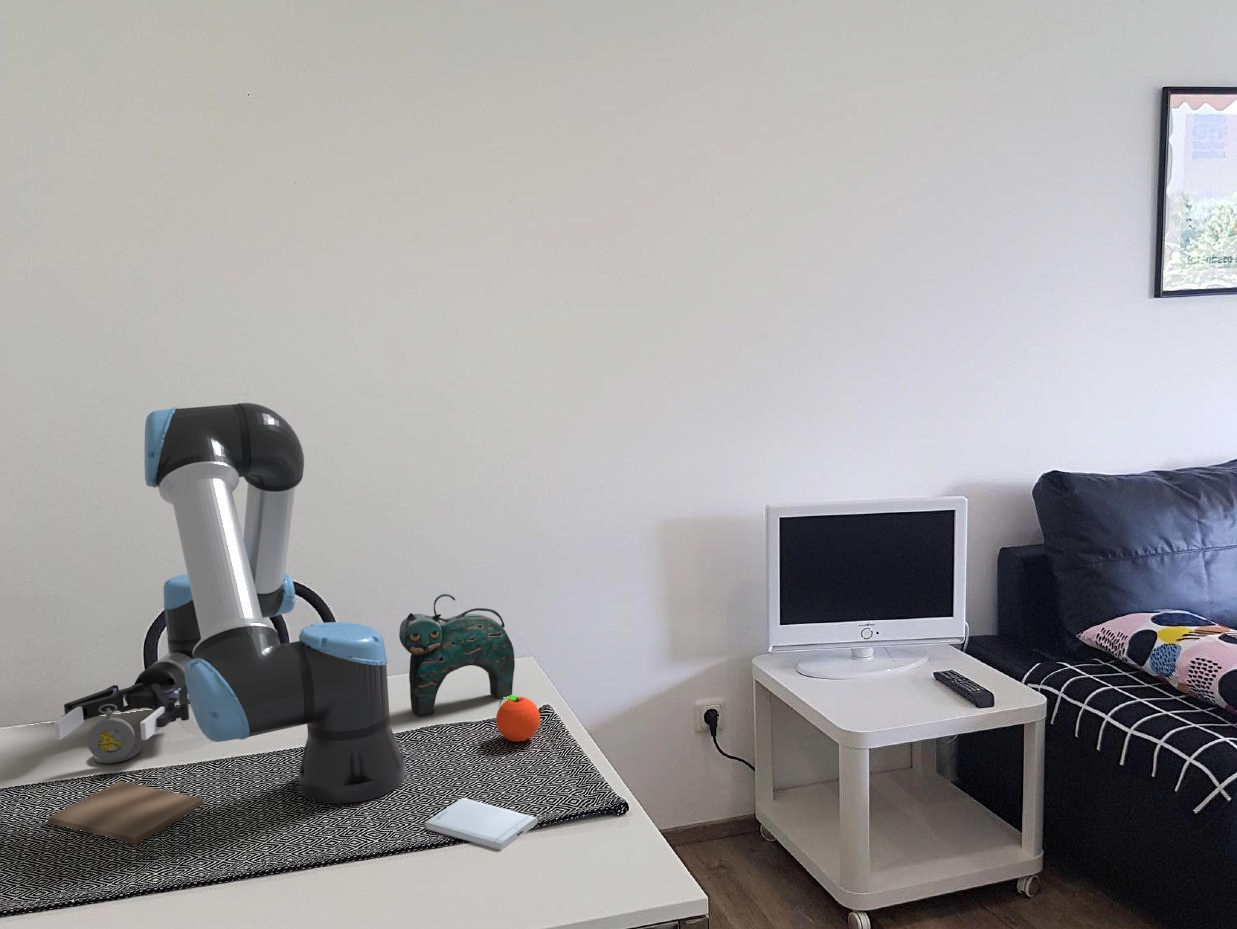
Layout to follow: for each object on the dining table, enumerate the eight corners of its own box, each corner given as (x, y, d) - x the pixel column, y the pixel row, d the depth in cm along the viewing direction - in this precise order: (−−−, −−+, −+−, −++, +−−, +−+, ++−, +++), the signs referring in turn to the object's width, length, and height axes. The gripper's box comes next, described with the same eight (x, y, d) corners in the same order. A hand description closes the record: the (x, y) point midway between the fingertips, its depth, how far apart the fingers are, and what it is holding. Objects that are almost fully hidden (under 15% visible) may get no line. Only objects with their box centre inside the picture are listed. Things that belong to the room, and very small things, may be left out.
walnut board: (203, 805, 156) (202, 798, 156) (135, 845, 146) (134, 838, 145) (120, 787, 163) (119, 781, 163) (49, 824, 152) (48, 817, 152)
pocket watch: (127, 744, 179) (120, 685, 177) (153, 757, 173) (147, 696, 172) (75, 762, 172) (68, 700, 171) (102, 776, 167) (95, 712, 166)
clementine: (483, 739, 177) (481, 696, 175) (515, 726, 182) (513, 684, 180) (517, 752, 171) (515, 708, 170) (550, 738, 176) (548, 695, 175)
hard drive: (425, 821, 148) (501, 842, 141) (463, 796, 155) (537, 815, 148) (426, 833, 148) (501, 854, 142) (464, 807, 155) (538, 826, 149)
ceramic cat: (410, 722, 185) (403, 605, 182) (398, 709, 190) (391, 596, 187) (520, 698, 194) (515, 586, 191) (505, 687, 200) (500, 578, 197)
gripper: (239, 703, 189) (181, 755, 168) (98, 703, 191) (24, 754, 170) (235, 660, 188) (177, 707, 167) (93, 661, 190) (18, 707, 169)
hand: (99, 731), depth 169 cm, fingers open, 13 cm apart
